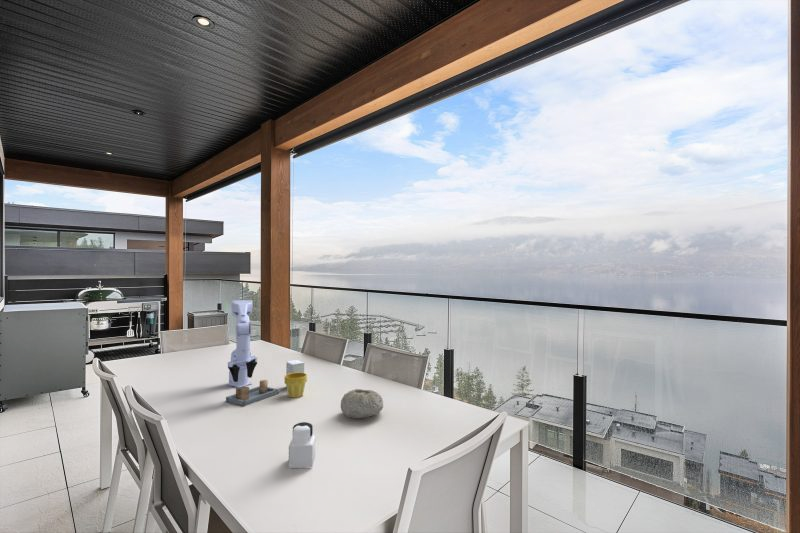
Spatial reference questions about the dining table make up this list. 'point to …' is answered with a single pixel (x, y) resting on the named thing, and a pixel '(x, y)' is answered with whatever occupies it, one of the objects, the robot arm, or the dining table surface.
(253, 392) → the parts tray
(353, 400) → the round stone vase
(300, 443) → the white boxy piece
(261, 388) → the oak peg
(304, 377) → the plant pot
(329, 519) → the dining table surface
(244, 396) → the walnut block
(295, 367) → the small box
